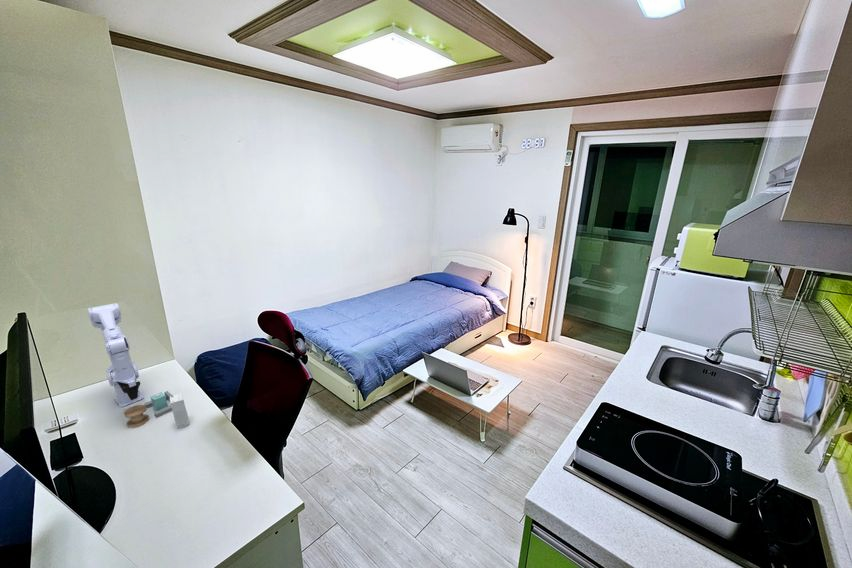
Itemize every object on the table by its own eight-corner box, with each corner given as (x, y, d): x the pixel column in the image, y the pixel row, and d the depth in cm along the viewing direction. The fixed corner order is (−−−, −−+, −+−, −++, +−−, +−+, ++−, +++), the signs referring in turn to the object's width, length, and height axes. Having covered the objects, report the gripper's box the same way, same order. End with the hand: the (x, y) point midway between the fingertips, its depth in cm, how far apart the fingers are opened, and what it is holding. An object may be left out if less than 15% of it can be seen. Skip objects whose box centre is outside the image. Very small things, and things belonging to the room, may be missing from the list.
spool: (124, 422, 139) (121, 411, 137) (145, 413, 144) (142, 402, 142) (130, 430, 135) (127, 418, 133) (152, 420, 140) (149, 408, 139)
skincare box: (189, 424, 139) (184, 399, 135) (176, 429, 136) (170, 403, 132) (188, 416, 143) (182, 392, 139) (174, 421, 140) (169, 396, 137)
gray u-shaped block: (145, 406, 149) (143, 400, 148) (168, 396, 155) (167, 390, 155) (156, 417, 142) (155, 411, 141) (180, 406, 149) (179, 401, 148)
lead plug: (153, 408, 148) (150, 395, 146) (164, 403, 151) (161, 390, 149) (157, 412, 145) (153, 398, 143) (168, 407, 149) (165, 394, 147)
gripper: (103, 364, 137) (112, 393, 141) (116, 376, 130) (124, 407, 134) (126, 357, 143) (133, 385, 147) (139, 368, 135) (146, 398, 139)
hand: (130, 395), depth 141 cm, fingers open, 7 cm apart
